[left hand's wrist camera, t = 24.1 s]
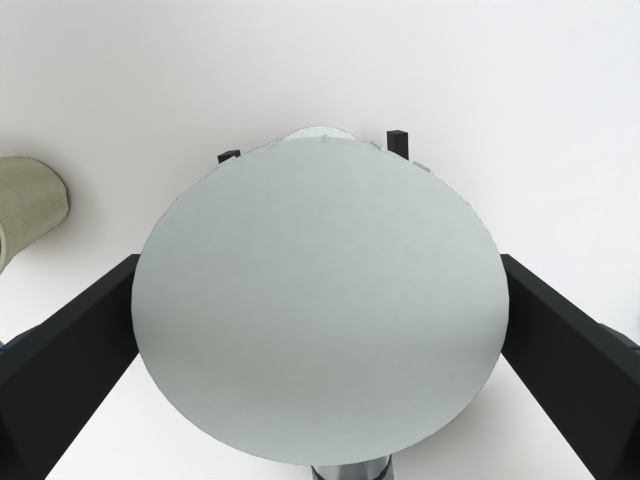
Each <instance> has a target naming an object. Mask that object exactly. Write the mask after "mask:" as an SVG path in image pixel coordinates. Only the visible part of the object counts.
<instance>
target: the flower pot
mask: <svg viewBox="0 0 640 480" xmlns="http://www.w3.org/2000/svg"><path fill="white" fill-rule="evenodd" d="M68 209H69V205H68V202H67V195H66V188H65V186H64V184H63V183H62V181H61V180H60V178H59V177H58V176H57V175H56V174H55V173H54V172H53V171H52V170H51V169H50V168H48V167H47V166H45V165H44V164H42V163H40V162H38V161H36V160H33V159H28V158H23V157H0V275H1V273H2V272H3V270H4V268H5V267H6V266H7V265H8V264H9V262H10V261H11V260H12V258H13V257H14V256H15V255H16V254H18V253H19V252H21V251H22V250H23V249H25V248H26V247H28V246H29V245H30V244H32V243H33V242H35V241H36V240H37V239H39V238H40V237H42V236H43V235H44V234H46V233H47V232H49V231H50V230H52V229H53V228H54V227H56V226H58V225H59V224H60V223H61V222H62V221H63V220H64V219H65V217H66V215H67V213H68Z"/></svg>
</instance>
